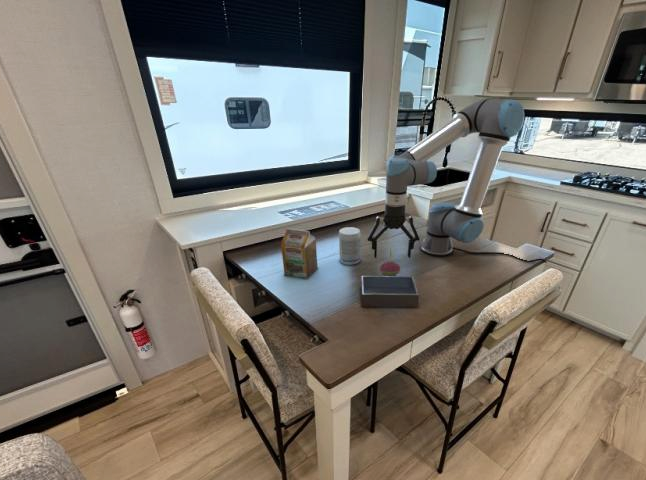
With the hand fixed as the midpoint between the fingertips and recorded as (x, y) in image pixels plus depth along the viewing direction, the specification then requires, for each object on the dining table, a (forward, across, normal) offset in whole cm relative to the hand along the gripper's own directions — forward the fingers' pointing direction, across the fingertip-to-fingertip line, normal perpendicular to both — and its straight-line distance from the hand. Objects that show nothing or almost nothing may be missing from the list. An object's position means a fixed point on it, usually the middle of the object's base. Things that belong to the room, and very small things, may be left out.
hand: (392, 256), depth 130 cm
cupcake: (+10, -1, 0) cm, 10 cm away
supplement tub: (+10, -18, +16) cm, 26 cm away
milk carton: (+10, -38, +5) cm, 40 cm away
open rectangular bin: (+10, -2, -15) cm, 18 cm away
